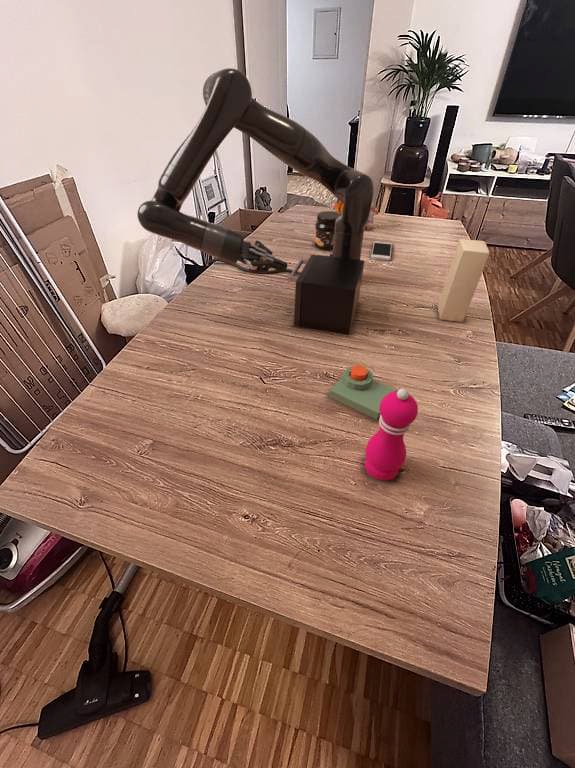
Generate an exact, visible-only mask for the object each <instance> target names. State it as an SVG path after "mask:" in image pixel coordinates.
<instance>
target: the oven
mask: <svg viewBox="0 0 575 768" xmlns="http://www.w3.org/2000/svg"><path fill="white" fill-rule="evenodd" d="M316 255H317V256H316V257H315V259H314V261H313V263H312V265H311V267H310V268H309V270H308V272H307V274H306V276H305V277H304V279H303V281H302V292H301V319H300V326H299V327H300V328H303V329H310V330H316V331H322V332H328V333H334V334H340V335H345V336H350V333H351V330H352V326H353V322H354V320H355V315H356V312H357V308H358V306H359V299H360V293H361V287H362V280H363V274H364V267H365V260H362V259H360V260H355V259H347V258H339V257H331V256H330V255H323V254H316Z"/></svg>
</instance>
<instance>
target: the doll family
mask: <svg viewBox="0 0 575 768" xmlns="http://www.w3.org/2000/svg"><path fill="white" fill-rule="evenodd" d="M343 208H344V203H343V202H341V201H340V200H339V199H338V198H337V200H336V203H335V204H333V205H332V207H331V211H334V212H338V213H340V214H341V215H342V214H343ZM379 214H380V212H379V210H378V208H377V206H375V205H374V202H372V205H371V210H370V215H369V219H368V221H367V223H366V225H367V226H366V225H365V230H367V231H371V230H372V228H371V227H372V225H373V224H374V221H375V219H374V218H375V217H374V216H377V215H379Z"/></svg>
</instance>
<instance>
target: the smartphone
mask: <svg viewBox="0 0 575 768" xmlns="http://www.w3.org/2000/svg"><path fill="white" fill-rule="evenodd" d="M392 247H393V243H392V242H387V241H376V240H375V241H373V245H372V249H371V254H370V259H373V260H381V261H391V256H392V249H393V248H392Z"/></svg>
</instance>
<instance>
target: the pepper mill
mask: <svg viewBox="0 0 575 768" xmlns="http://www.w3.org/2000/svg"><path fill="white" fill-rule="evenodd" d="M379 410H380V414H381V415H380V417H379V418H378V424H379V426H380V427H379V429H378V430H377V432H376V433H374V434H373V435H372V436H371V437H370V438H369V440H368V441H367V444H366V445H365V450H364V451H365V462H364V467H365V470H366V472H367V473H368V474H369V475H370V476H371V477H372V478H373V479H376V480H378V481H391V480H393V479H395V477H397V475H398V473H399V470H400V468H401V467H403V466H404V464H405V462H406V458H407V447H406V444H405V441H404V436H405V434H406V433H407V432H409V430H410V427H411V424H412V423H413V422H414V421H416V418H417V417H418V413H419V407H418V403H417V400H416V399H415V398H414V397H413V396H412V395H411V394H410V393H409V391H408V390H407V389H406V388H400V389H398V390H396V391H394V392H390V393H388V394H387V395H385V396H384V398H383V399H382V401H381V403H380V407H379Z"/></svg>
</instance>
